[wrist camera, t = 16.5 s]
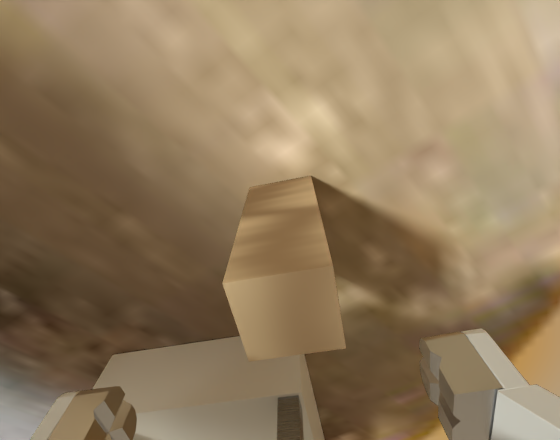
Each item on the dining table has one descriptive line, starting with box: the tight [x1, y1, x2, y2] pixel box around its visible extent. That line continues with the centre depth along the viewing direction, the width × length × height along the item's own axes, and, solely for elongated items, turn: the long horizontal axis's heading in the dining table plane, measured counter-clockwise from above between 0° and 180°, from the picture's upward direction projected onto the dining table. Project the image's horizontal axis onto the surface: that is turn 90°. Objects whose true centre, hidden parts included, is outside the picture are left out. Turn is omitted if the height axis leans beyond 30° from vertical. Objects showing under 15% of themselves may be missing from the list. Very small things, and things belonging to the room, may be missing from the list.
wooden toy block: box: [222, 176, 346, 362], centre depth 15 cm, size 4×4×9 cm
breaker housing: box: [92, 336, 325, 440], centre depth 24 cm, size 14×14×5 cm
